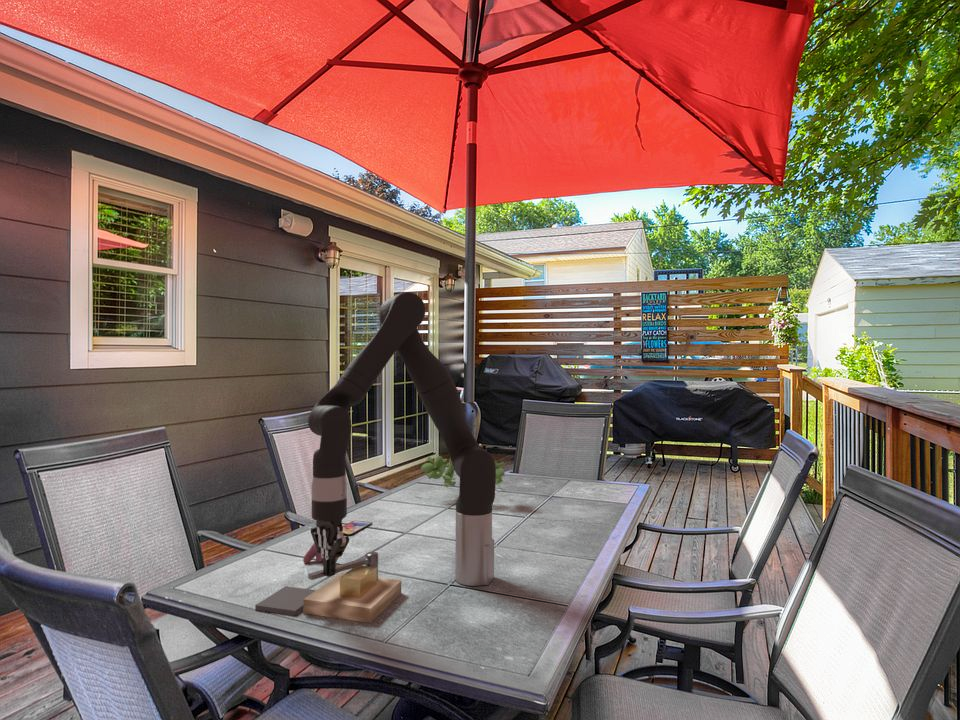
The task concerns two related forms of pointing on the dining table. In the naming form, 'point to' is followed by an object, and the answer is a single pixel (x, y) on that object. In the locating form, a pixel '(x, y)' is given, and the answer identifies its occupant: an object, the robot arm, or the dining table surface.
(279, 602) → the mat
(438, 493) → the dining table surface
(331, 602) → the base plate
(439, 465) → the plant cuttings
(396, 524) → the dining table surface
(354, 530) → the smartphone
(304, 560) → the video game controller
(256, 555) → the dining table surface
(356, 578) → the brown rectangular block
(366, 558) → the clamp lever
